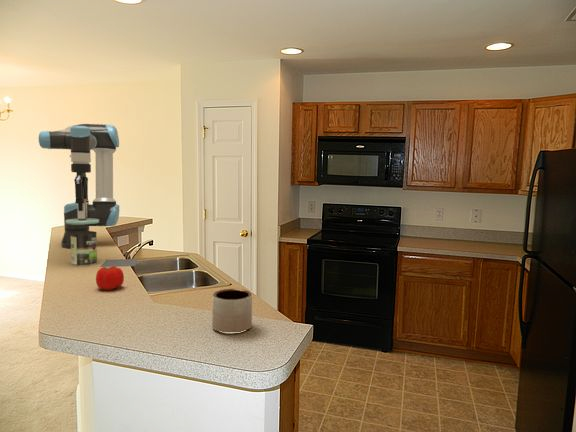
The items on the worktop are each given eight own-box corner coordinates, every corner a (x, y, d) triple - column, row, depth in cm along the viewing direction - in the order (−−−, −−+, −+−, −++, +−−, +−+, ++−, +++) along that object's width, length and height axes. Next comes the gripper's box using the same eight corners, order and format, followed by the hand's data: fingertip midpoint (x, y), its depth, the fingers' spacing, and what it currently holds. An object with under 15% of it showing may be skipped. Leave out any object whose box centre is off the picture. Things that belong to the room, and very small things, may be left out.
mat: (106, 260, 190) (106, 259, 190) (138, 260, 193) (138, 258, 193) (99, 268, 177) (99, 266, 177) (134, 267, 180) (134, 265, 180)
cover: (70, 220, 185) (69, 197, 184) (101, 220, 188) (101, 198, 187) (61, 224, 173) (60, 200, 171) (95, 224, 176) (95, 200, 174)
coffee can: (102, 262, 187) (101, 231, 185) (87, 268, 177) (86, 235, 175) (82, 261, 189) (81, 230, 187) (65, 266, 179) (64, 233, 177)
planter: (204, 326, 116) (204, 293, 114) (235, 317, 123) (236, 286, 122) (227, 339, 108) (228, 303, 107) (259, 328, 115) (260, 294, 114)
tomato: (128, 287, 150) (128, 267, 149) (106, 293, 143) (106, 272, 142) (111, 283, 155) (111, 263, 154) (89, 289, 147) (89, 268, 147)
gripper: (76, 163, 185) (77, 215, 187) (65, 162, 169) (67, 220, 171) (94, 163, 186) (95, 215, 189) (86, 163, 170) (87, 220, 173)
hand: (82, 217), depth 180 cm, fingers closed on cover, 3 cm apart
